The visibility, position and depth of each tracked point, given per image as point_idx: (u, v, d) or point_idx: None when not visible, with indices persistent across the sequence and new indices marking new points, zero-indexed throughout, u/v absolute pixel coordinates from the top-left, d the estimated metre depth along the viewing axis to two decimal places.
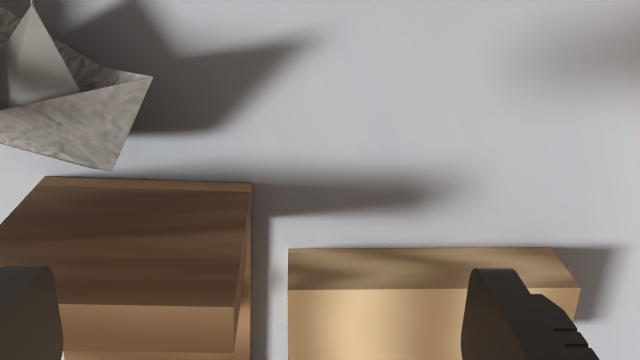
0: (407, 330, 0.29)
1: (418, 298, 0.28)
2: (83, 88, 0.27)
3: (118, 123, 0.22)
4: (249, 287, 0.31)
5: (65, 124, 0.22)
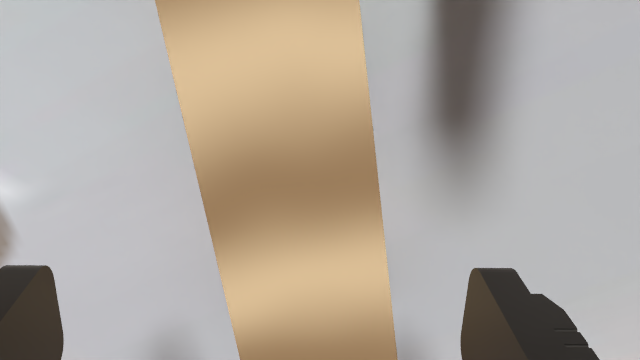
0: (285, 147, 0.16)
1: (354, 149, 0.16)
2: None
3: None
4: None
5: None
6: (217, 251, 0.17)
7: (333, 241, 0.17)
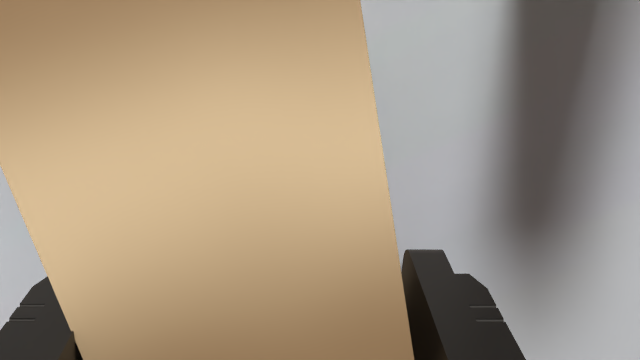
0: (245, 320, 0.09)
1: (370, 318, 0.09)
2: None
3: None
4: None
5: None
6: None
7: None
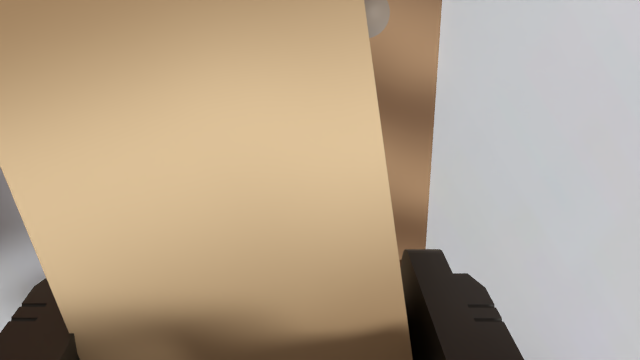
0: (242, 318, 0.09)
1: (369, 316, 0.09)
2: None
3: None
4: None
5: None
6: None
7: None
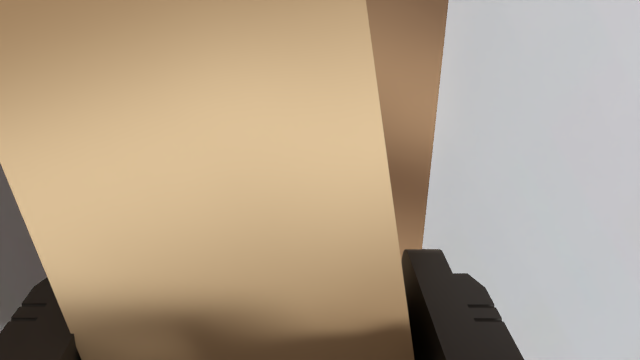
0: (244, 317, 0.09)
1: (370, 315, 0.09)
2: None
3: None
4: None
5: None
6: None
7: None
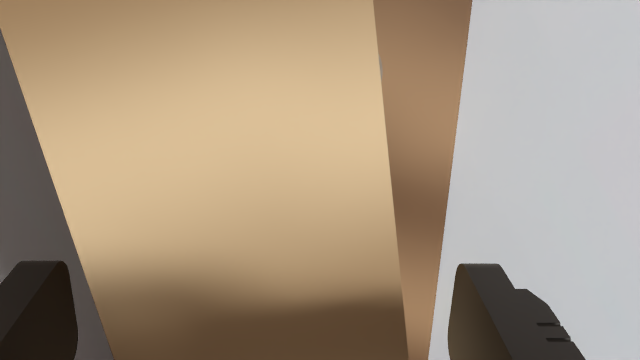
0: (252, 286, 0.10)
1: (367, 288, 0.10)
2: None
3: None
4: None
5: None
6: None
7: None
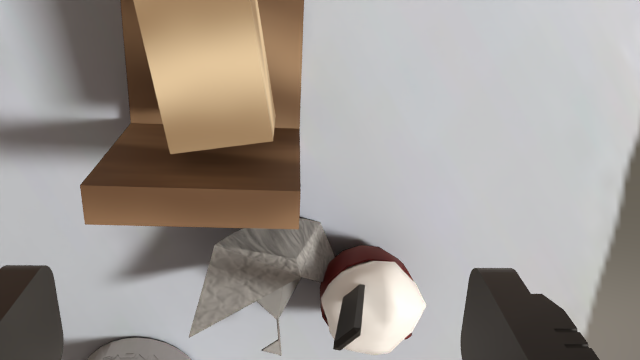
0: None
1: None
2: None
3: (209, 293, 0.35)
4: (126, 62, 0.34)
5: (241, 284, 0.35)
6: (145, 45, 0.26)
7: (222, 40, 0.26)
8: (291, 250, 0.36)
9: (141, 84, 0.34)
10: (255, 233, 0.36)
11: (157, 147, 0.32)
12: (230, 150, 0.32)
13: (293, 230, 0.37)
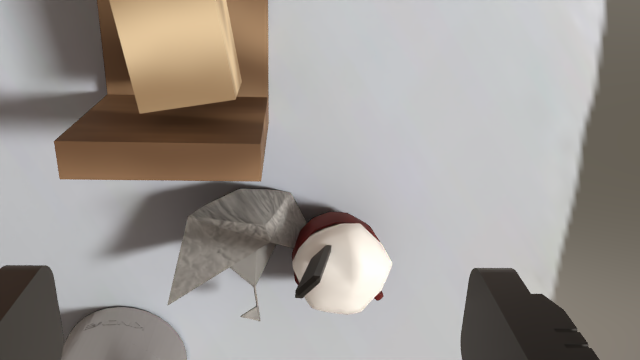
0: None
1: None
2: None
3: (184, 262, 0.37)
4: (102, 36, 0.36)
5: (215, 252, 0.37)
6: (113, 8, 0.28)
7: (184, 2, 0.28)
8: (260, 218, 0.37)
9: (116, 56, 0.36)
10: (226, 204, 0.38)
11: (130, 112, 0.34)
12: (199, 114, 0.34)
13: (263, 200, 0.39)
